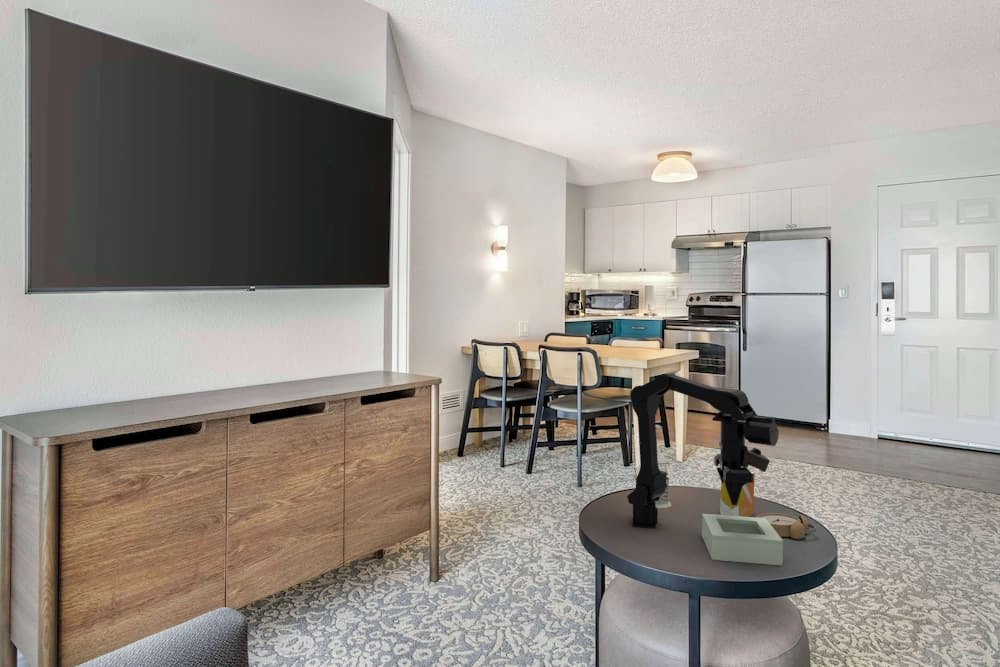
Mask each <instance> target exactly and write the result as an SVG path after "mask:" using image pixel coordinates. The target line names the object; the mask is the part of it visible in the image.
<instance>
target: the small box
mask: <svg viewBox="0 0 1000 667" xmlns="http://www.w3.org/2000/svg"><path fill="white" fill-rule="evenodd" d="M750 472H751V473H752V474H753V483H746V484H745V485H743V491H744V499H743V502H742V503H741V505H739V506H738V507H735V508H734V509H730V508H729V506H727V505H725V504H724V503H723V501H722V499H721V498H720V503H719V504H720V505H719V506H720V509H719V515H728V516H742V517H753V516H754V511H755V510H754V507H755V505H754V503H755V502H754V501H755V472H752V471H750ZM721 486H722V482H721V481H720V487H721Z"/></svg>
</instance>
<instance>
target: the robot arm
mask: <svg viewBox="0 0 1000 667" xmlns="http://www.w3.org/2000/svg"><path fill="white" fill-rule="evenodd" d="M669 391H673V392H676V393H679V394H682V395H685V396H688V397H690V398H694V399H697V400H700V401H703V402H705V403H707V404H709V405H710V406H711V408H713V409H715V410H717V411H718V413H717V414H716V415H715V416H713V417H712V419H711V420H712V421H714V422H720V441H718V446H719V447H720V453H717V454H716V455H715V456H713V464H714V466H715V467H716V472H717V473H718V474H717V475H718V476H719V479H720V483H721V482H722V484H723V482H724V484H725V486H726V489H727V492H728V495H729V498H730V500H731V503H732V505H737V503H738V499H739V496H740V492H741V489H742V487H743V485H745V484H746V483H753V474H752V473H751V472H752V471H750V470H749V469H748V468H749V466H750V467H752V468H755V469H758V470H760V472H764V473H766V471H767V470H768V466H769V464H770V462H771V459H769V458H768V457H766V456H765V455H762V451H761V449H759V448H756V447H752V449H749V448H748V446H747V445H746V440H747V442H748V443H751V444H755V445H756V444H757V445H764V446H772V447H775V446H777V443H778V440H779V435H780V434H779V433H780V432H779V431H780V430H779V429H778V424H777V423H776V418H775V417H774V416H773V417H772V416H758V414H757V413H756V411H755V410H754V408H753V406H752V405H751V404H750V402H749V399H748V396H747V394H746V393H745V392H744V391H742V390H739V389H735V388H734V389H732V388H726V387H725V388H724V387H714V386H710V385H708V384H705V383H701V382H698V381H695V380H692V379H688V378H685V377H682V376H679V375H677V374H675V373H671V372H669V373H663V374H661V375H659V376H658V377H657V378H655V379H653V380H650V381H648V382H646V383H644V384H643V385H642V384H641V385H636V386H634V387H633V388H632V389H631V390H630V395H629V396H630V402H631V407H632V409H633V411H634V413H635V415H636V417H637V426H638V427H637V428H638V429H637V430H638V431H637V432H638V445H639V446H638V447H639V448H638V449H639V461H640V462H639V465H640V466H639V468H640V469H639V470H638V473H637V478H636V480H635V489H634V490H632V491H631V492H630V493H629V494H627V497H626V498H627V501H628V503H629V504H630V505H632V510H631V512H632V513H631V514H632V515H631V516H632V517H631V526H632V527H637V528H638V527H639V528H652V529H655V528H657V524H658V520H659V518H658V512H659V511H658V509H659V508H657V507H656V504H655V502H656V501H659V499H660V496H664V495H663V494H664V493H665V488H666V487H667V484H666V477H667V476H666V473H661V471H662V470H660V468H659V464H658V458H657V455H658V440H657V429H656V425H657V424H656V416H657V415H656V414H657V412H658V410H659V407H660V399H661V397H662V396H663V395H665V394H666V393H668V392H669Z"/></svg>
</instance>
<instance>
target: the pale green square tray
mask: <svg viewBox="0 0 1000 667" xmlns="http://www.w3.org/2000/svg"><path fill="white" fill-rule="evenodd" d="M701 514H702V516H701V517H702V518H701V537H702V539H703V542H704V544H705V547H706V549H707V551H708V554H709V556H710V558H711V561H722V562H723V561H725V562H736V563H749V564H758V565H759V564H762V565H769V566H770V565H771V566H772V565H773V566H782V567H783V564H784V563H783V556H784V540H783V539H782V537H780V536H779V535H778V534H777V532H776V531H775V530H774V528H773V527H772V526H771V525H770V523H769V522H768V521H767V519H766V518H756V517H757V516H756V517H753V516H748V517H742V516H728V515H721V514H712V513H711V514H710V513H701Z"/></svg>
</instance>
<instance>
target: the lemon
mask: <svg viewBox="0 0 1000 667" xmlns="http://www.w3.org/2000/svg"><path fill="white" fill-rule="evenodd" d="M719 494H720V500H721V499H722V501H723V503H724V504H725V505H727V506H729V508H730V509H734V508H735V507H738V506H739V505H741V503H742V502H743V499H744V491H743V487H742V489H741V492H740V496H739V499H738V503H737V505H732V503H731V500H730V498H729V495H728V492H727V489H726V486H725V484H724V482H723V484H722V486H721V485H720V493H719Z"/></svg>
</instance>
